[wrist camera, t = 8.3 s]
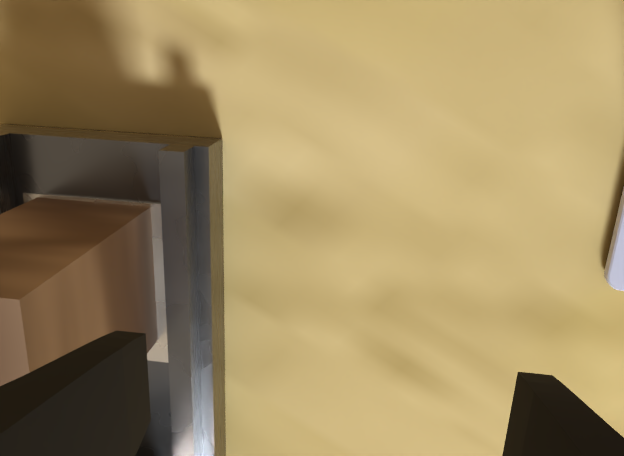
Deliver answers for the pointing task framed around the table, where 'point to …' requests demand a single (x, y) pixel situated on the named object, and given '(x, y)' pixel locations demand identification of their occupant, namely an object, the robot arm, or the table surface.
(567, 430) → the robot arm
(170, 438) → the rail
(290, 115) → the table surface
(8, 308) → the walnut finger
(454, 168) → the table surface
